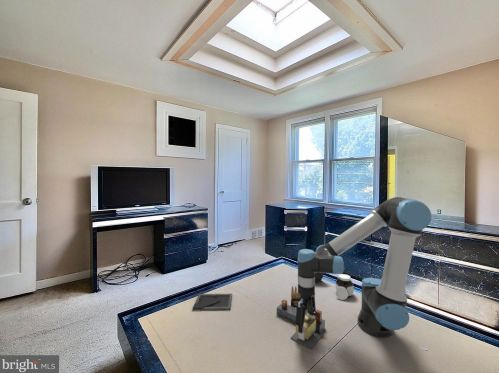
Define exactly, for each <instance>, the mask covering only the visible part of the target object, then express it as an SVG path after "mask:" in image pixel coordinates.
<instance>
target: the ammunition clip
mask: <svg viewBox="0 0 499 373" xmlns="http://www.w3.org/2000/svg"><path fill="white" fill-rule="evenodd" d="M300 297H301V296H300V294H299V293H298V287H297V285H296V286H295V287H294V285H293V286H292V287H291V292H290V306H292V307H294V308H297V304H296V303H297V302H300ZM304 307H306V306H304Z"/></svg>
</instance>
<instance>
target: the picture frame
mask: <svg viewBox="0 0 499 373" xmlns="http://www.w3.org/2000/svg"><path fill="white" fill-rule="evenodd" d="M232 300H233V293H198V294H197V297H196V299H195V302H194V304H193V306H192V311H193V310H200V311H231V308H232Z"/></svg>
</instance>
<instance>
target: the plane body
mask: <svg viewBox="0 0 499 373" xmlns="http://www.w3.org/2000/svg"><path fill="white" fill-rule="evenodd" d="M296 311H297V308H294V307H292V306H291V305H290V304H288V300H286V299H283V300H281V303H280V304H279V305H278V306H277V307H276V315H277V316H278V317H281V318H282V319H285V320H286V321H289V322H291V323H293V324H295V323H296ZM314 313H316V315H315V316H314V315H313V319H316V331H315V332H314V333H316V334H318V335H321V334H322V332H324V330H326V319H323V315H322V313H323V311H322V310H319V309H316V312H314ZM307 314H309V313H308V312H306V314H305V315H306V316H307Z"/></svg>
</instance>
